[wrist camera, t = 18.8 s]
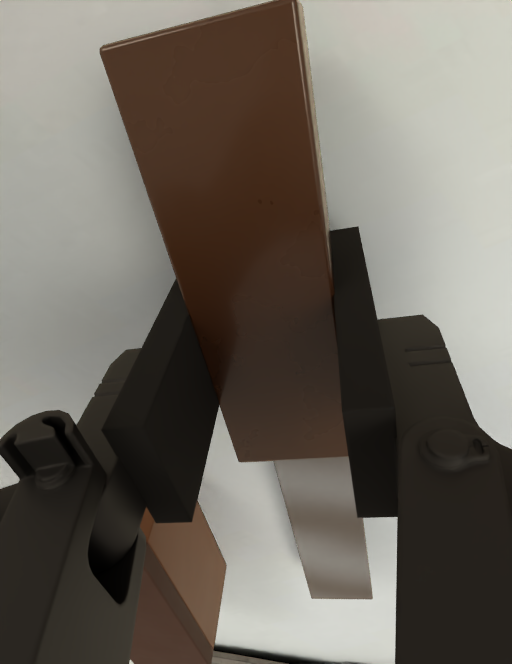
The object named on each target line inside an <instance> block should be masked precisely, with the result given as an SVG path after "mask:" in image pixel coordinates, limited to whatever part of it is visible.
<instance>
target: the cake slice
mask: <svg viewBox="0 0 512 664" xmlns="http://www.w3.org/2000/svg"><path fill="white" fill-rule="evenodd" d="M140 528H141V529H142V531H143V533H144V534H145V536H146V554H145V561H144V568H143V574H142V581H141V588H140V594H139V601H138V607H137V614H136V621H135V627H134V634H133V641H132V647H131V654H130V659H131V660H132V662H133V663H134V664H211V663H212V657H213V649H214V644H215V638H216V631H217V625H218V618H219V612H220V605H221V599H222V592H223V586H224V579H225V573H226V563H225V561H224V559H223V557H222V554H221V552H220V550H219V548H218V546H217V543H216V541H215V539H214V537H213V534H212V532H211V530H210V528H209V526H208V523H207V521H206V519H205V517H204V515H203V512H202V510H201V508H200V506H199V504H198V501H197V503H196V507H195V512H194V516H193V520H192V522H188V523H156V522H155V521H154V519H153V517H152V516H151V514H150V512H149V511H148V509H147V507H146V509H145V512H144V515H143V518H142V521H141V524H140Z"/></svg>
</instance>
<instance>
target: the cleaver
mask: <svg viewBox="0 0 512 664" xmlns="http://www.w3.org/2000/svg"><path fill="white" fill-rule="evenodd" d="M211 664H287V663H281V662H276V661H270V660H264V659H259V658H253V657H247V656H242V655H236V654H230V653H224V652H218V651H213V657H212V663H211Z"/></svg>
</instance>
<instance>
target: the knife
mask: <svg viewBox="0 0 512 664" xmlns="http://www.w3.org/2000/svg"><path fill="white" fill-rule="evenodd" d="M100 55H101V58H102V61H103V64H104V67H105V70H106V73H107V76H108V79H109V82H110V85H111V87H112V90H113V93H114V96H115V99H116V102H117V105H118V108H119V111H120V114H121V117H122V120H123V123H124V126H125V129H126V132H127V135H128V137H129V140H130V143H131V146H132V149H133V152H134V155H135V158H136V161H137V164H138V167H139V170H140V173H141V176H142V179H143V182H144V184H145V187H146V190H147V193H148V196H149V199H150V202H151V205H152V208H153V211H154V214H155V217H156V220H157V223H158V226H159V229H160V231H161V234H162V237H163V240H164V243H165V246H166V249H167V252H168V255H169V258H170V261H171V264H172V267H173V270H174V273H175V276H176V279H177V281H178V284H179V287H180V290H181V293H182V296H183V299H184V302H185V305H186V308H187V311H188V314H189V316H190V319H191V322H192V325H193V328H194V331H195V334H196V337H197V340H198V343H199V346H200V349H201V351H202V354H203V357H204V360H205V363H206V366H207V369H208V372H209V375H210V378H211V381H212V384H213V386H214V389H215V392H216V395H217V398H218V401H219V405H220V408H221V411H222V414H223V417H224V420H225V423H226V425H227V428H228V431H229V434H230V437H231V440H232V443H233V446H234V449H235V452H236V455H237V458H238V461H239V462H258V461H274V464H275V468H276V472H277V475H278V479H279V482H280V486H281V490H282V493H283V497H284V500H285V504H286V508H287V511H288V515H289V519H290V522H291V526H292V529H293V533H294V537H295V540H296V544H297V548H298V551H299V555H300V558H301V562H302V566H303V569H304V573H305V576H306V580H307V584H308V587H309V591H310V595H311V598H312V599H373V596H372V586H371V578H370V571H369V563H368V555H367V547H366V539H365V531H364V523H363V518H357V512H356V505H355V498H354V491H353V484H352V477H351V470H350V464H349V457H348V450H347V443H346V436H345V429H344V422H343V415H342V404H341V390H340V376H339V363H338V349H337V335H336V321H335V307H334V294H335V289H334V276H333V263H332V250H331V236H330V225H329V217H328V208H327V200H326V192H325V184H324V175H323V167H322V159H321V151H320V143H319V134H318V126H317V118H316V110H315V102H314V93H313V85H312V77H311V69H310V61H309V52H308V44H307V36H306V28H305V20H304V11H303V6H302V4H301V3H300V2H299V0H273V1H269V2H266V3H262V4H258V5H254V6H250V7H247V8H243V9H239V10H235V11H231V12H227V13H224V14H220V15H216V16H212V17H208V18H205V19H201V20H197V21H193V22H189V23H186V24H182V25H178V26H174V27H170V28H167V29H163V30H159V31H155V32H151V33H148V34H144V35H140V36H136V37H132V38H128V39H125V40H121V41H117V42H113V43H109V44H106V45H103V46H102V47H101V48H100Z"/></svg>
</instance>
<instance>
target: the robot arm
mask: <svg viewBox="0 0 512 664" xmlns="http://www.w3.org/2000/svg"><path fill="white" fill-rule="evenodd" d="M330 236H331V250H332V263H333V276H334V289H335V294H334V307H335V321H336V335H337V349H338V363H339V376H340V390H341V404H342V415H343V422H344V429H345V436H346V443H347V450H348V457H349V464H350V470H351V477H352V484H353V491H354V498H355V505H356V512H357V518H369V517H398V528H397V589H396V649H395V664H512V449H510V448H508V447H505V446H503V445H501V444H499V443H498V442H496V441H495V440H493V439H492V438H491V437H490V436H489V435H488V434H487V433H485V432H484V431H483V430H482V429H481V428H480V427H479V426H478V424H477V422H476V421H475V419H474V417H473V415H472V412H471V409H470V407H469V404H468V402H467V399H466V397H465V394H464V391H463V389H462V386H461V384H460V381H459V379H458V376H457V373H456V371H455V368H454V366H453V363H451V358H450V356H449V353H448V350H447V348H446V347H445V343H444V340H443V338H442V335H441V332H440V330H439V328H438V327H437V326H436V325H435V324H433V323H432V322H431V321H430V320H429V319H427V318H426V317H425V316H424V315H415V316H406V317H397V318H388V319H380V320H377V316H376V311H375V306H374V301H373V296H372V292H371V287H370V282H369V277H368V272H367V267H366V262H365V257H364V252H363V248H362V243H361V238H360V233H359V228H358V227H352V228H346V229H339V230H333V231H330ZM94 394H95V397H92V399H91V400H90V402H89V404H88V406H87V408H86V409H85V411H84V413H83V415H82V417H81V418H80V420H79V422H78V424H77V425H76V424H75V423H74V421H73V420H72V418H71V416H70V415H69V414H68V413H66V412H63V411H60V410H54V411H45V412H42V413H39V414H36V415H33V416H30V417H29V418H27V419H25V420H23V421H22V422H20V423H18V424H17V425H15V426H14V427H13V428H12V429H11V430H9V431H8V432H7V433H6V434H5V435H4V436H3V437H2V438H1V440H0V455H1V456H2V457H3V458H4V460H5V461H6V462H7V463H8V465H9V466H10V467H11V468H12V470H13V471H14V472H15V473H16V475H17V476H18V477H19V478H20V481H19V483H17V484H14V485H11V486H8V487H5V488H2V489H0V664H129V661H130V654H131V647H132V641H133V634H134V627H135V621H136V614H137V607H138V601H139V594H140V588H141V581H142V574H143V568H144V561H145V554H146V536H145V534H144V533H143V531H142V529H141V528H140V524H141V521H142V518H143V515H144V512H145V509H146V507H147V509H148V511H149V512H150V514H151V516H152V517H153V519H154V521H155V522H156V523H188V522H192V520H193V516H194V512H195V507H196V503H197V499H198V494H199V490H200V486H201V481H202V477H203V473H204V468H205V464H206V460H207V455H208V451H209V447H210V443H211V438H212V434H213V430H214V425H215V421H216V417H217V412H218V408H219V401H218V398H217V395H216V392H215V389H214V386H213V384H212V381H211V378H210V375H209V372H208V369H207V366H206V363H205V360H204V357H203V354H202V351H201V349H200V346H199V343H198V340H197V337H196V334H195V331H194V328H193V325H192V322H191V319H190V316H189V314H188V311H187V308H186V305H185V302H184V299H183V296H182V293H181V290H180V287H179V284H178V281H177V279H176V280H175V282H174V284H173V286H172V288H171V290H170V292H169V294H168V296H167V298H166V300H165V302H164V304H163V306H162V308H161V310H160V312H159V314H158V316H157V318H156V320H155V322H154V324H153V326H152V328H151V330H150V332H149V334H148V336H147V338H146V340H145V342H144V344H143V346H142V348H138V349H129V350H125V351H124V352H123V353H122V354H121V355H120V356H119V357H118V358H117V359H116V360H115V361H114V362H113V363H112V364H111V365H110V366H109V368H108V370H107V372H106V374H105V375H104V377H103V379H102V384H99V386H98V388H97V390H96V392H95V393H94Z"/></svg>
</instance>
